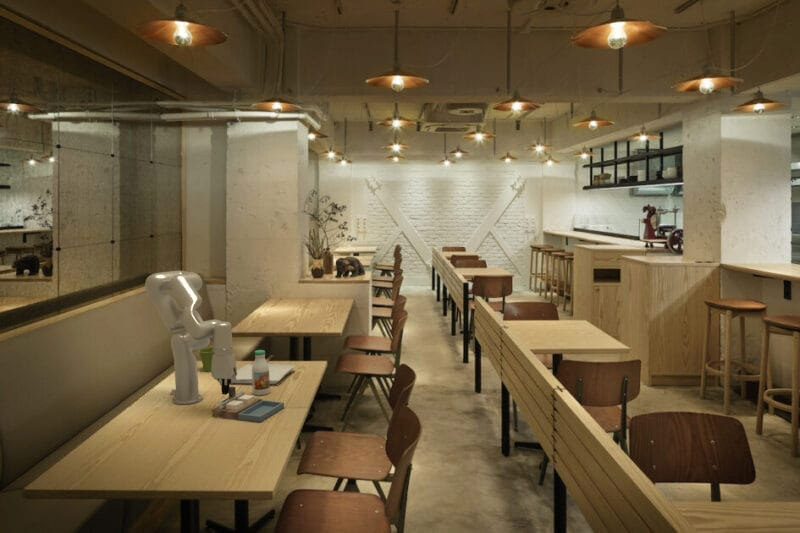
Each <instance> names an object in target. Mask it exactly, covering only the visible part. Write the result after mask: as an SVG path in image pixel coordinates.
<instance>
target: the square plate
mask: <svg viewBox="0 0 800 533" xmlns="http://www.w3.org/2000/svg"><path fill="white" fill-rule="evenodd" d="M253 364H254V363H248V364H247V363H246V364H244V366H241V367H240V368H239V369H237V376H236V380H235V381H232V382H231V383H230V384H242V385H243V384H246V385H253V384H252V367H253ZM267 364H268V367H269V379H270V385H275V384H278V383H279V382H280V381H281V380H282V379H283V378H285V376H287V375H288V374H289V373H290V372H292V370H294V368H296V365H294V364H282V363H281V364H280V363H278V364H277V363H275V364H274V363H267Z"/></svg>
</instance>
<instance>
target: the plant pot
mask: <svg viewBox="0 0 800 533" xmlns="http://www.w3.org/2000/svg"><path fill="white" fill-rule="evenodd" d="M213 348H214V346H210V347H208V346H207V347H204V348H200V349H197V351H198V354H199V356H200V360H201V363H202V367H203V371H204V372H207V373H211V365H212V357H213V354H214V351H213V350H212V349H213Z"/></svg>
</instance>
